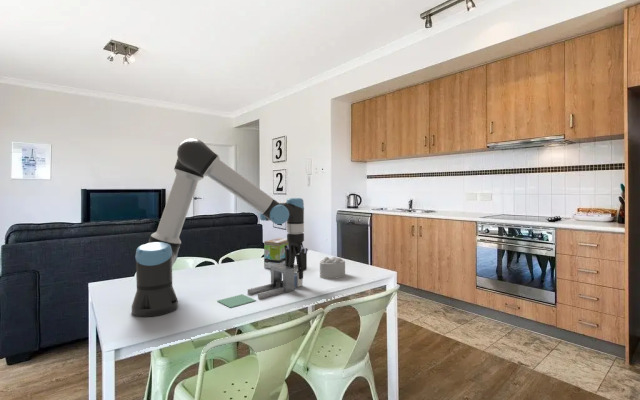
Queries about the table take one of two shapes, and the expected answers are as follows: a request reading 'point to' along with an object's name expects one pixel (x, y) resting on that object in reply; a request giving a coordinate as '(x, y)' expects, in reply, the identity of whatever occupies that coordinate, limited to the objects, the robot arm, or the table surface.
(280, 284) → the plug
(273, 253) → the tea box
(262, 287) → the grey stand
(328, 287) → the table surface
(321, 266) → the lumpy-topped squat cylinder
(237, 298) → the mat
